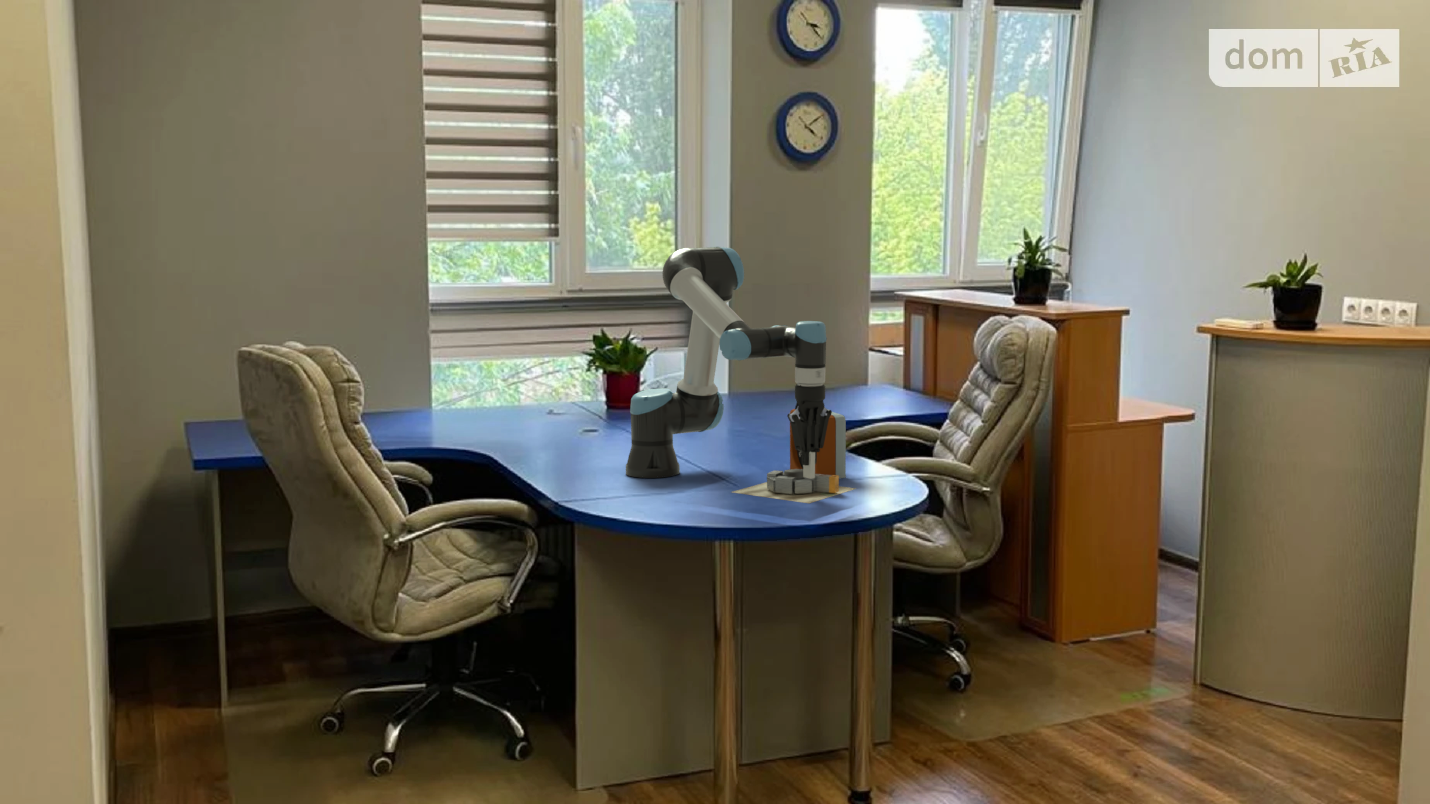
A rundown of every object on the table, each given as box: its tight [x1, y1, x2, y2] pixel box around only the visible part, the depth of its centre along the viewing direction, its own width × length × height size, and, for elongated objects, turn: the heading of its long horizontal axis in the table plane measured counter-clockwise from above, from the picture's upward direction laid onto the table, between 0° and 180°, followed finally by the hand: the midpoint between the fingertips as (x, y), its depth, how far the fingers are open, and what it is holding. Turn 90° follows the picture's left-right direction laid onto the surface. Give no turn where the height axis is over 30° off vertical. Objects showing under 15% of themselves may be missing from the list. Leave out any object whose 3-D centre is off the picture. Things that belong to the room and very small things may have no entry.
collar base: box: [731, 468, 857, 504], centre depth 344 cm, size 24×22×6 cm
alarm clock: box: [789, 408, 847, 479], centre depth 366 cm, size 18×9×21 cm, turn 21°
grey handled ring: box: [766, 469, 840, 494], centre depth 343 cm, size 18×13×4 cm
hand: (809, 477), depth 336 cm, fingers closed
